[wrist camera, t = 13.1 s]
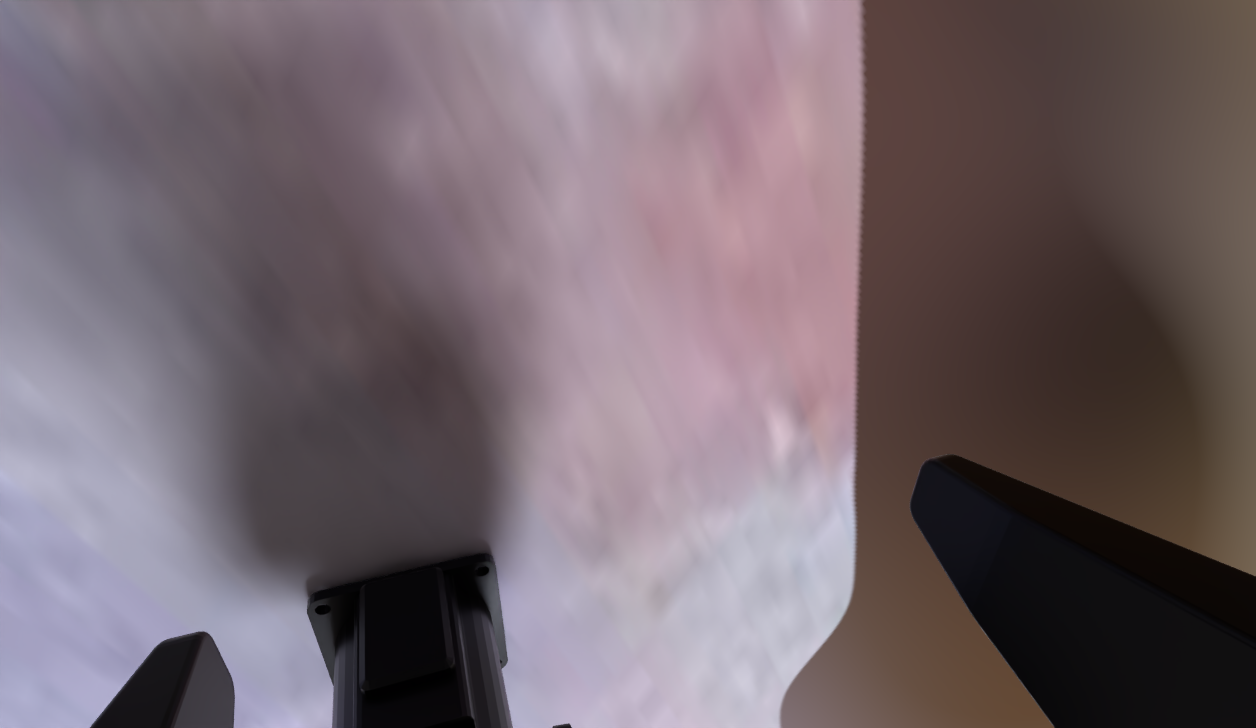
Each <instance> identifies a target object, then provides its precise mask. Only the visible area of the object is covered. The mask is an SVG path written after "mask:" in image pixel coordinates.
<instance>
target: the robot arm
mask: <svg viewBox="0 0 1256 728" xmlns="http://www.w3.org/2000/svg"><path fill="white" fill-rule="evenodd" d="M910 511H911V514H912V517H913V519H914V521H915V523H916V524H917V526H918V528H919V529H920V531H921V533H922V534H923V536H924V538H925V539H926V541H927V543H928V544H929V546H930V547H931V549H932V551H933V552H934V554H935V556H936V557H937V559H938V561H939V562H940V564H941V566H942V567H943V569H944V571H945V572H946V574H947V576H948V577H949V579H950V581H951V582H952V584H953V585H954V587H955V589H956V591H957V592H958V594H959V596H960V597H961V599H962V600H963V602H964V603H965V605H966V607H967V608H968V609H969V611H970V613H971V614H972V616H973V617H974V619H975V620H976V621H977V623H978V624H979V626H980V627H981V628H982V630H983V631H984V633H985V634H986V635H987V637H988V638H989V639H990V641H991V642H992V643H993V645H994V646H995V648H996V649H997V650H998V652H999V653H1000V654H1001V656H1002V657H1003V658H1004V660H1005V661H1006V662H1007V664H1008V665H1009V666H1010V668H1011V669H1012V671H1013V672H1014V673H1015V674H1016V676H1017V677H1018V679H1019V680H1020V682H1021V683H1022V684H1023V686H1024V687H1025V688H1026V690H1027V691H1028V692H1029V694H1030V695H1031V696H1032V698H1033V699H1034V701H1035V702H1036V703H1037V705H1038V706H1039V707H1040V709H1041V710H1042V711H1043V713H1044V714H1045V715H1046V717H1047V718H1048V719H1049V721H1050V722H1051V724H1052V725H1053V726H1054V728H1256V576H1253V575H1251V574H1248V573H1246V572H1243V571H1241V570H1238V569H1236V568H1234V567H1231V566H1229V565H1226V564H1224V563H1221V562H1219V561H1216V560H1214V559H1211V558H1209V557H1206V556H1204V555H1202V554H1199V553H1197V552H1194V551H1191V550H1189V549H1187V548H1184V547H1182V546H1179V545H1177V544H1174V543H1172V542H1170V541H1167V540H1165V539H1162V538H1160V537H1157V536H1155V535H1152V534H1150V533H1147V532H1145V531H1142V530H1140V529H1137V528H1135V527H1133V526H1130V525H1128V524H1125V523H1123V522H1120V521H1118V520H1115V519H1113V518H1110V517H1108V516H1105V515H1103V514H1101V513H1098V512H1096V511H1093V510H1091V509H1088V508H1086V507H1083V506H1081V505H1078V504H1076V503H1073V502H1071V501H1068V500H1066V499H1063V498H1061V497H1059V496H1056V495H1054V494H1051V493H1049V492H1046V491H1044V490H1041V489H1039V488H1036V487H1034V486H1031V485H1029V484H1026V483H1024V482H1022V481H1019V480H1017V479H1014V478H1011V477H1009V476H1007V475H1004V474H1002V473H1000V472H997V471H994V470H992V469H990V468H987V467H985V466H982V465H980V464H977V463H975V462H972V461H970V460H967V459H965V458H962V457H960V456H957V455H954V454H947V455H942V456H938V457H934V458H929V459H927V460H926V461H924V463H923V464H922V465H921V468H920V471H919V474H918V477H917V480H916V484H915V487H914V490H913V493H912V496H911V500H910ZM481 566H485V567H483V568H479V567H481ZM324 604H326V605H325V606H320V605H324ZM307 614H308V617H309V619H310V622H311V625H312V628H313V630H314V633H315V636H316V639H317V642H318V644H319V647H320V650H321V653H322V655H323V658H324V661H325V664H326V667H327V669H328V672H329V675H330V678H331V680H332V683H333V686H334V692H333V718H332V728H513V726H512V721H511V716H510V711H509V705H508V700H507V695H506V690H505V685H504V679H503V674H502V668H503V667H504V666H505V665H506V664H507V661H508V658H507V651H506V643H505V635H504V628H503V620H502V612H501V605H500V597H499V589H498V582H497V574H496V567H495V562H494V559H493V557H492V556H491V555H489V554H477V555H473V556H469V557H464V558H460V559H456V560H451V561H447V562H443V563H439V564H434V565H430V566H426V567H421V568H417V569H413V570H408V571H404V572H400V573H396V574H391V575H387V576H383V577H378V578H374V579H370V580H366V581H361V582H357V583H353V584H348V585H344V586H340V587H336V588H331V589H327V590H323V591H319V592H316V593H314V594H313V595H311V596H310V598H309V599H308V606H307ZM234 703H235V695H234V686H233V681H232V678H231V675H230V673H229V671H228V669H227V667H226V665H225V663H224V661H223V659H222V656H221V654H220V652H219V650H218V648H217V646H216V644H215V642H214V640H213V638H212V637H211V636H210V635H209V634H208V633H207V632H195V633H191V634H187V635H183V636H178V637H174V638H170V639H167V640H164V641H163V642H161V643H160V644H159V645H157V646H156V647H155V648H154V649H153V651H152V652H151V653H150V654H149V655H148V657H147V658H146V659H145V660H144V662H143V663H142V664H141V665H140V667H139V668H138V669H137V670H136V671H135V673H134V674H133V675H132V676H131V678H130V679H129V680H128V681H127V683H126V684H125V685H124V686H123V687H122V689H121V690H120V691H119V692H118V694H117V695H116V696H115V697H114V699H113V700H112V701H111V702H110V703H109V705H108V706H107V707H106V708H105V710H104V711H103V712H102V713H101V715H100V716H99V717H98V718H97V720H96V721H95V722H94V723H93V724H92V726H91V727H90V728H233V726H234ZM553 728H571V725H570V724H563V725H556V726H553Z"/></svg>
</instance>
